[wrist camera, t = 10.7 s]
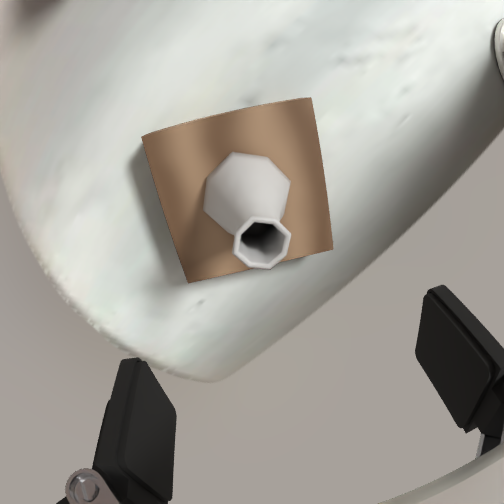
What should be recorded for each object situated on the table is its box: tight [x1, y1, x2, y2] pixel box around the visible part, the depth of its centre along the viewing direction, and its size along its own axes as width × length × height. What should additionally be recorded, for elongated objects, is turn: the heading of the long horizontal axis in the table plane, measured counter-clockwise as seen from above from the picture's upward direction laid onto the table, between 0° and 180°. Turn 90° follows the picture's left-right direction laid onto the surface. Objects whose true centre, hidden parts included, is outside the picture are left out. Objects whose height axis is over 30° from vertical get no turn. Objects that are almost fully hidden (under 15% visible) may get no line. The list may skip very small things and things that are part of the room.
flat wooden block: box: [141, 98, 333, 283], centre depth 28 cm, size 14×14×4 cm
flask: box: [203, 152, 291, 270], centre depth 22 cm, size 7×7×10 cm
